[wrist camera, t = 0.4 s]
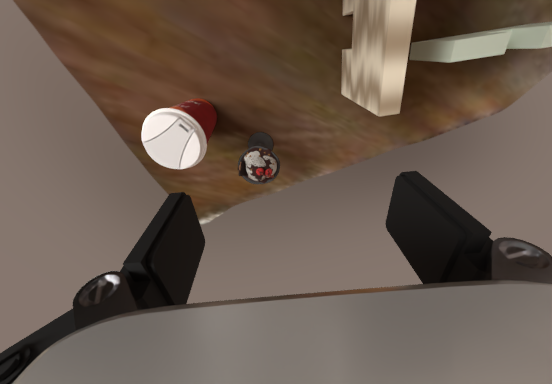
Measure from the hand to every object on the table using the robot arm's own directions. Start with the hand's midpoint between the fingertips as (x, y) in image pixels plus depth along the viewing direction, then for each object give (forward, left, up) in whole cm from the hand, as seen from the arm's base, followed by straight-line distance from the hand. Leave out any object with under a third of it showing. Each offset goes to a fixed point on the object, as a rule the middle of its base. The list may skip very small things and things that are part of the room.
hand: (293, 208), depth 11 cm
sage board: (-3, +32, -35) cm, 47 cm away
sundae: (+9, -4, -35) cm, 36 cm away
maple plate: (-7, +13, -35) cm, 38 cm away
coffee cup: (+2, -14, -35) cm, 38 cm away
